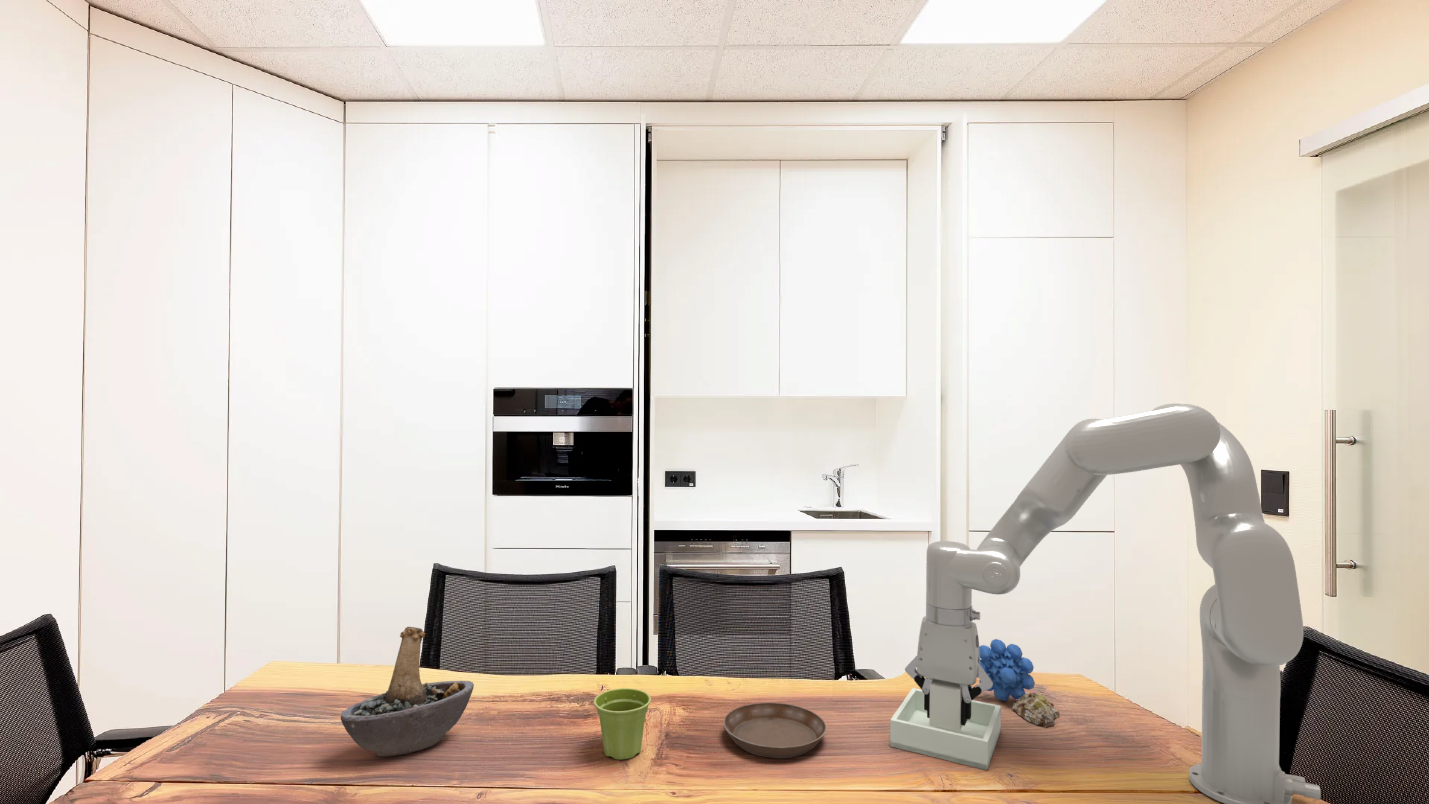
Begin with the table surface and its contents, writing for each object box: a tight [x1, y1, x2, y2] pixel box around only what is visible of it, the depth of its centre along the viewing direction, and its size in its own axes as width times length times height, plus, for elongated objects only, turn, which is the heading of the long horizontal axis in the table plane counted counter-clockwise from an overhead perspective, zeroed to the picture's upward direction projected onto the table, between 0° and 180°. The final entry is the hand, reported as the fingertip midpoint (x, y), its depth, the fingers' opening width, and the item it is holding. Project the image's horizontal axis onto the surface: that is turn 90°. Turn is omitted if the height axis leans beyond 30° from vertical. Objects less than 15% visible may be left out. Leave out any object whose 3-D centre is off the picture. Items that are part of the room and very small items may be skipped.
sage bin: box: [889, 687, 1002, 771], centre depth 125 cm, size 16×16×4 cm
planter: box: [340, 626, 475, 758], centre depth 119 cm, size 15×17×20 cm
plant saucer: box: [723, 702, 827, 759], centre depth 124 cm, size 18×18×3 cm
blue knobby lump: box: [979, 638, 1036, 702], centre depth 140 cm, size 12×7×12 cm, turn 83°
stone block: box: [929, 679, 963, 732], centre depth 125 cm, size 5×5×7 cm
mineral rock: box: [1011, 692, 1061, 728], centre depth 135 cm, size 11×4×8 cm
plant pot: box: [593, 687, 652, 760], centre depth 119 cm, size 9×9×9 cm
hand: (947, 717), depth 125 cm, fingers closed on stone block, 4 cm apart
